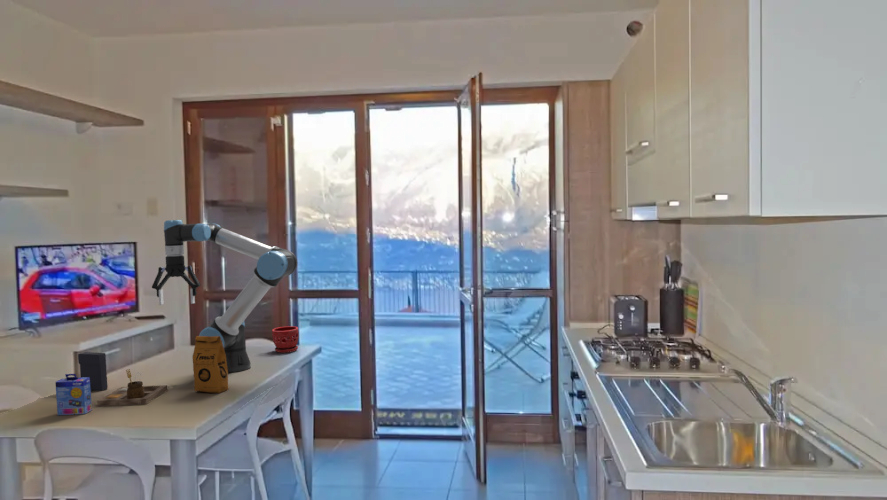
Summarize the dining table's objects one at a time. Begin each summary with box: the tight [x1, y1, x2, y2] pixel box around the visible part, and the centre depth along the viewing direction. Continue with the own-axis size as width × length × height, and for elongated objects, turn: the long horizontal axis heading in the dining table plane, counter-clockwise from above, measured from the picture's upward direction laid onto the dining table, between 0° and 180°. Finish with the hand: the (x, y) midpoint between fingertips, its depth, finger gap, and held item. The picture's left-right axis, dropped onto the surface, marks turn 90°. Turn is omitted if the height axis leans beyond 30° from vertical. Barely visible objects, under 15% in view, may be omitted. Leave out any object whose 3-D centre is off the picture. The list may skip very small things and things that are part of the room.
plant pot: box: [271, 325, 300, 354], centre depth 335 cm, size 13×13×12 cm
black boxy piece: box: [77, 351, 109, 392], centre depth 267 cm, size 11×4×15 cm, turn 71°
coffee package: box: [192, 335, 229, 394], centre depth 258 cm, size 10×12×22 cm
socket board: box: [96, 384, 168, 407], centre depth 252 cm, size 18×20×2 cm
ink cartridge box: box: [54, 373, 93, 416], centre depth 233 cm, size 10×6×14 cm, turn 95°
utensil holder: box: [125, 368, 144, 399], centre depth 247 cm, size 6×6×12 cm
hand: (177, 304), depth 286 cm, fingers open, 13 cm apart
